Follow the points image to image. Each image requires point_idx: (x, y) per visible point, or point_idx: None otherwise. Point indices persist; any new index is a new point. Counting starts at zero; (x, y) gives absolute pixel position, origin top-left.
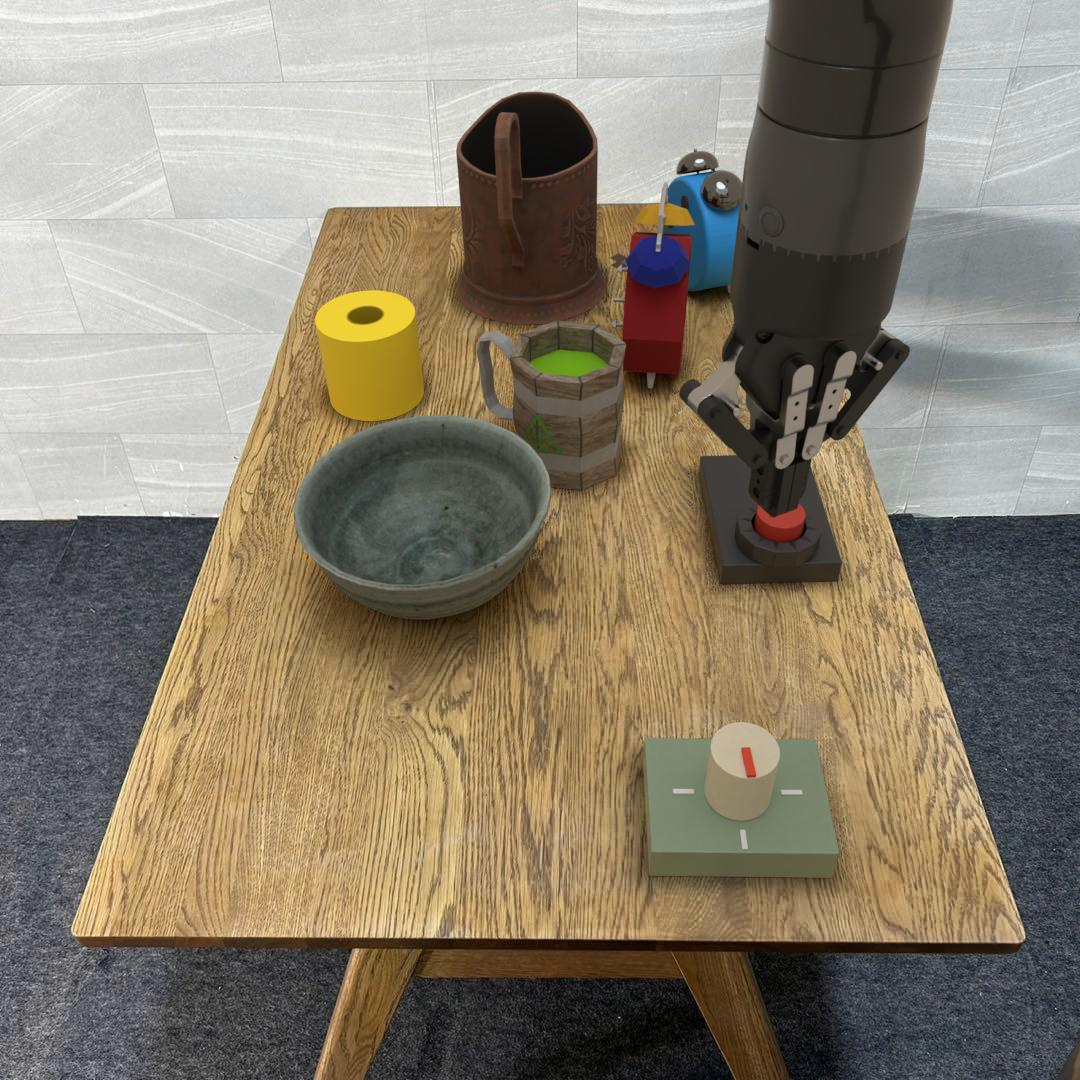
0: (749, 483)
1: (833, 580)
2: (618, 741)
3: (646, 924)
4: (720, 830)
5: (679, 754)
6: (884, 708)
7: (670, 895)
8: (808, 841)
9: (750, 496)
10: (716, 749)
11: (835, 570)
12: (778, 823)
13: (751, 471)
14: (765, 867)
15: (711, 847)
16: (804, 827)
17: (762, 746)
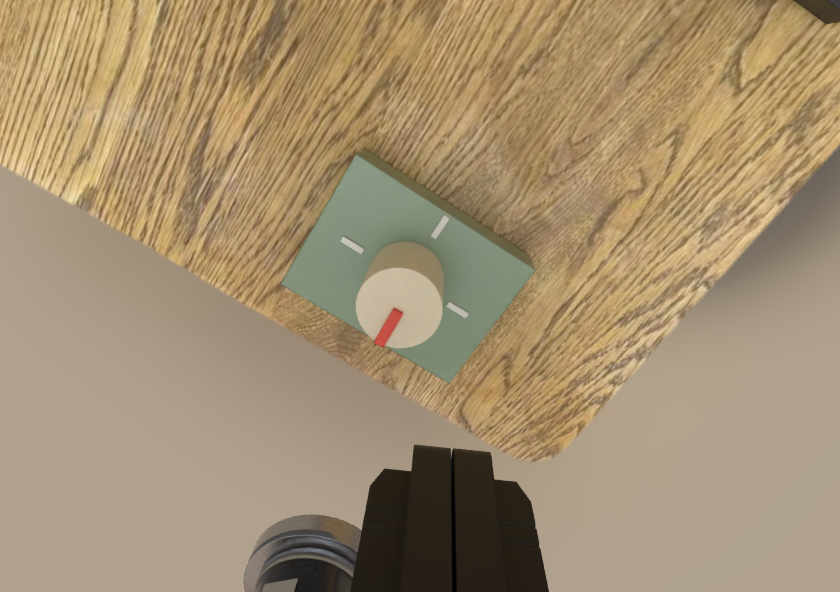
0: (367, 504)
1: (822, 19)
2: (355, 102)
3: (265, 306)
4: None
5: (380, 198)
6: (665, 242)
7: None
8: (431, 359)
9: (381, 474)
10: (367, 291)
11: (836, 17)
12: None
13: (359, 546)
14: None
15: (339, 313)
16: (439, 345)
17: (420, 317)
